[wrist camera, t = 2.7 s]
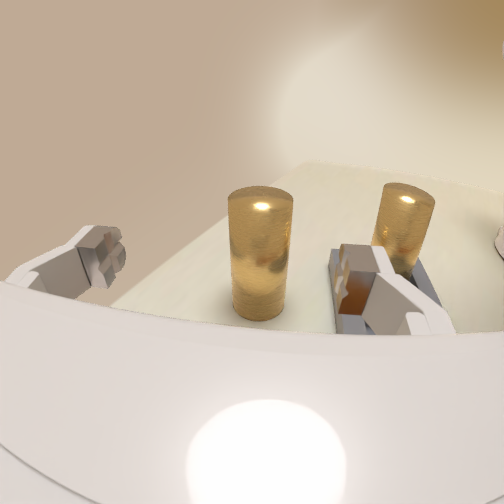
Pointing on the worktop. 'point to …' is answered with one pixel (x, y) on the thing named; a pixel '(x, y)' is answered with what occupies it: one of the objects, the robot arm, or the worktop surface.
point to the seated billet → (402, 225)
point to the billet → (259, 250)
